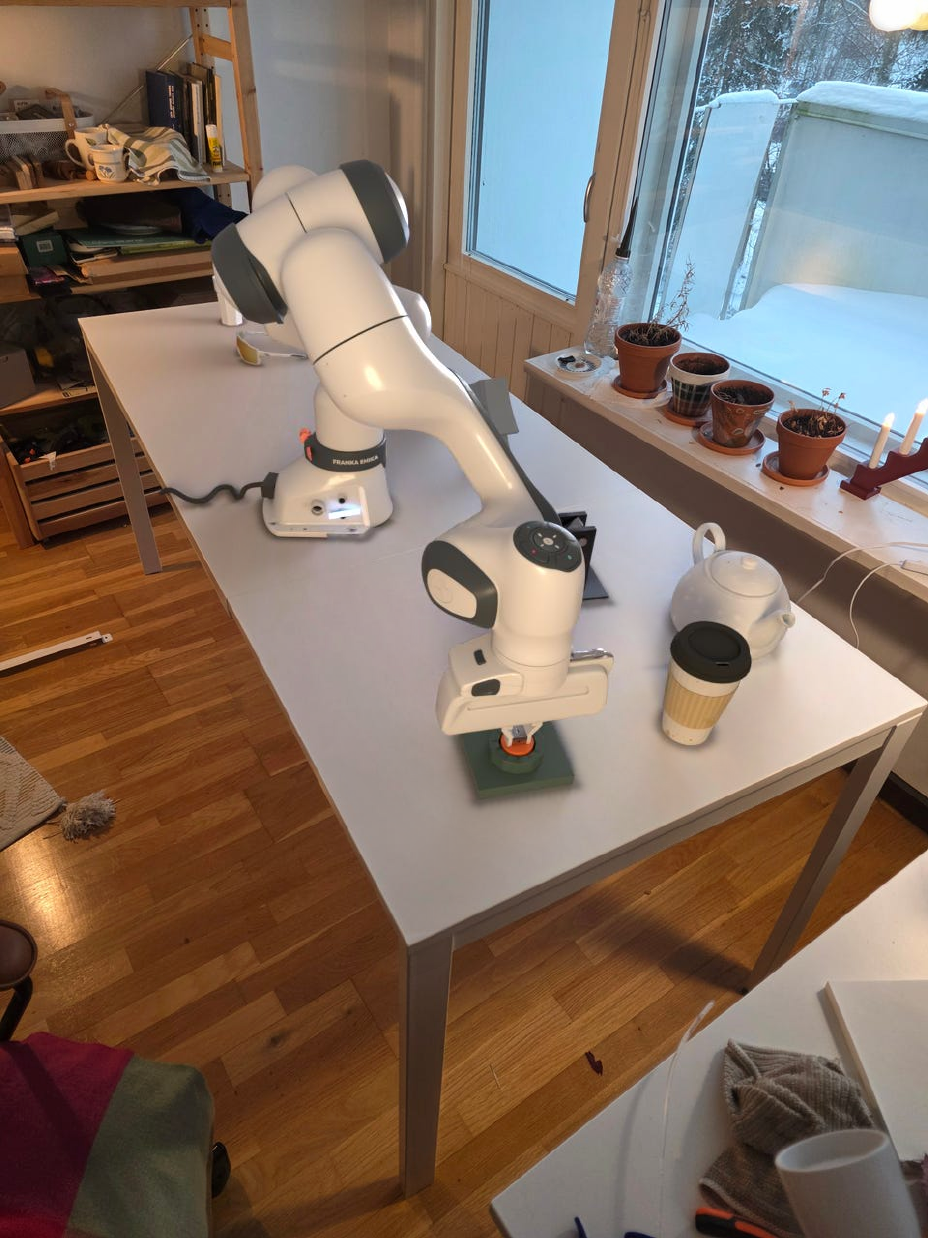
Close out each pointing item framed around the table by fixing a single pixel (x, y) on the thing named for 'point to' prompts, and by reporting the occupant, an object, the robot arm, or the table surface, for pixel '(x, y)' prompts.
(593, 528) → the lever stand
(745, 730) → the table surface
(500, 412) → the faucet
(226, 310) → the cup
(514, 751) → the button
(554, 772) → the button box
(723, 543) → the teapot
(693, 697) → the coffee cup
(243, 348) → the sunglasses
